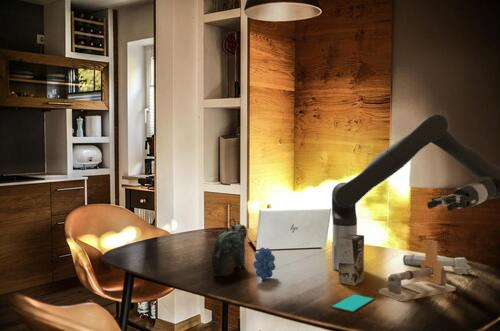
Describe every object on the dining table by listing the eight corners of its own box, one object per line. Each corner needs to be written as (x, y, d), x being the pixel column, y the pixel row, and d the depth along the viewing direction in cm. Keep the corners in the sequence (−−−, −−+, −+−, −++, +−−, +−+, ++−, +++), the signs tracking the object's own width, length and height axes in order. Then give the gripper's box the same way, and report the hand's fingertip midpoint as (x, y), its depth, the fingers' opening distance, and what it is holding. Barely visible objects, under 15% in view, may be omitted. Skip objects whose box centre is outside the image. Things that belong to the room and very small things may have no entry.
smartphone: (330, 306, 150) (353, 294, 162) (330, 309, 150) (353, 296, 162) (353, 311, 145) (374, 298, 157) (353, 314, 145) (374, 301, 157)
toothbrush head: (407, 253, 204) (470, 254, 187) (409, 269, 204) (472, 272, 187) (401, 255, 200) (465, 256, 183) (403, 272, 200) (467, 275, 183)
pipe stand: (401, 301, 155) (401, 277, 155) (379, 292, 164) (379, 270, 164) (455, 290, 166) (455, 268, 166) (432, 282, 175) (432, 261, 175)
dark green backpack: (237, 264, 202) (236, 215, 201) (250, 266, 199) (250, 216, 198) (208, 276, 185) (208, 222, 184) (223, 278, 181) (223, 223, 180)
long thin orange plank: (436, 284, 164) (437, 242, 164) (421, 279, 171) (421, 239, 170) (441, 283, 165) (441, 242, 165) (425, 278, 171) (425, 238, 171)
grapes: (264, 285, 172) (264, 251, 172) (249, 282, 176) (249, 248, 176) (283, 278, 181) (283, 245, 181) (268, 275, 186) (268, 243, 185)
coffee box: (355, 286, 172) (356, 239, 171) (337, 283, 175) (338, 237, 174) (364, 279, 180) (364, 235, 179) (347, 277, 183) (347, 233, 182)
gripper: (452, 184, 182) (420, 194, 175) (486, 185, 170) (453, 197, 163) (455, 204, 183) (423, 215, 176) (489, 207, 171) (456, 219, 163)
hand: (438, 206), depth 169 cm, fingers open, 8 cm apart
